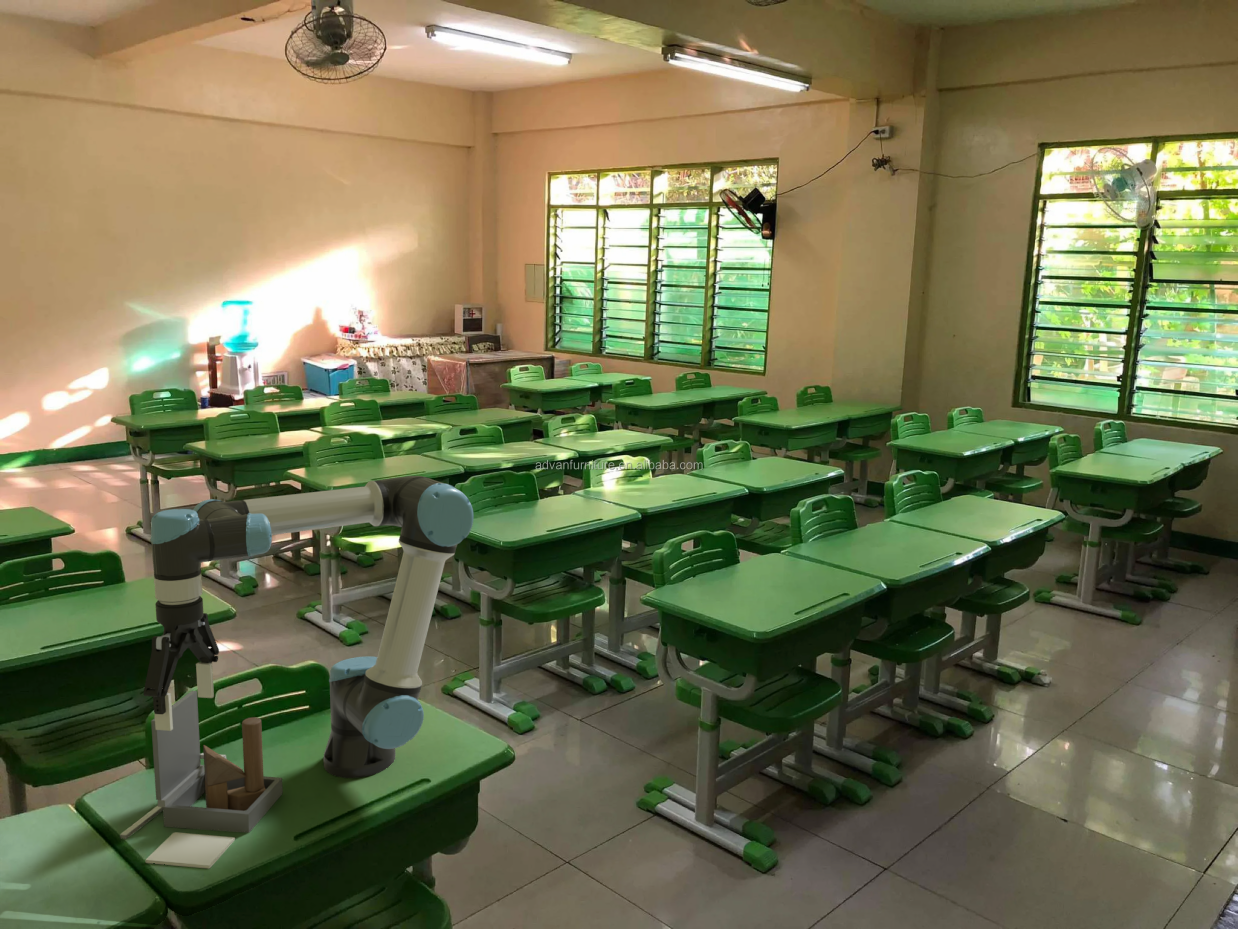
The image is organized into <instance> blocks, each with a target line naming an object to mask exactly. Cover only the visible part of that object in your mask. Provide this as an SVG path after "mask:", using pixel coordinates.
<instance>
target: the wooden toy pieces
mask: <svg viewBox="0 0 1238 929" xmlns="http://www.w3.org/2000/svg"><path fill="white" fill-rule="evenodd" d="M241 729H242V730H241V733H242V734H241V735H242V754H243V755H242V758H243V768H241V767H239V766H238V765H237V764H235V763H234V762H232V761H230V760H229V759H226V758H227V757H226V758H224V757H222V756H221V755H222V754H220V755H219V753H218V752H216V751H214V750H213V749H211V748H210V747H208V746H207V745H205V744H203V746H202V747H203V750H202V753H204V759H203V765H204V772H205V793H204V794H205V808H216V809H228V810H240V811H246V810H247V809H248V808H249V807H250V806H251V805H252V804H253V803H254V802H255V801H256V800H257V799H258V798H259V797H260V795H261V794H262V793H263V792H264V791H265V790H266V789H265V786H264V776H265V775H264V755H263V751H264V750H263V733H262V732H263V730H262V719H261V718H259V717H255V716H254V717H247V718H245V719H243V720H242V722H241ZM240 778H244V781H245V787H240V788H236V789H232V790H227V781H232V780H236V779H240Z"/></svg>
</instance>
